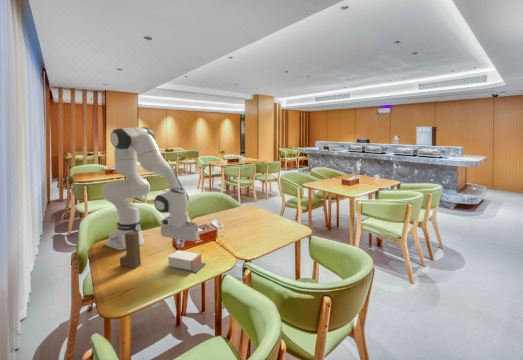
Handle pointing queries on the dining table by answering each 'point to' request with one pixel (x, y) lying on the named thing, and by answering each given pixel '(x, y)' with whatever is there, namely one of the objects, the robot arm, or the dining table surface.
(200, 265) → the mat
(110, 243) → the robot arm
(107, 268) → the dining table surface
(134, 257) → the wooden block
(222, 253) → the dining table surface
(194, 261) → the cream block
